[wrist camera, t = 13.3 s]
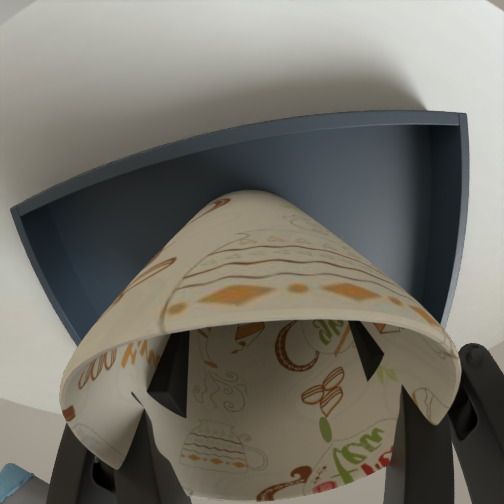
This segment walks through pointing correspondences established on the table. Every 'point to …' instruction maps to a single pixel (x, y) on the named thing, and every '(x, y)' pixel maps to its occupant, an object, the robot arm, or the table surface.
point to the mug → (259, 357)
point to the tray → (269, 180)
